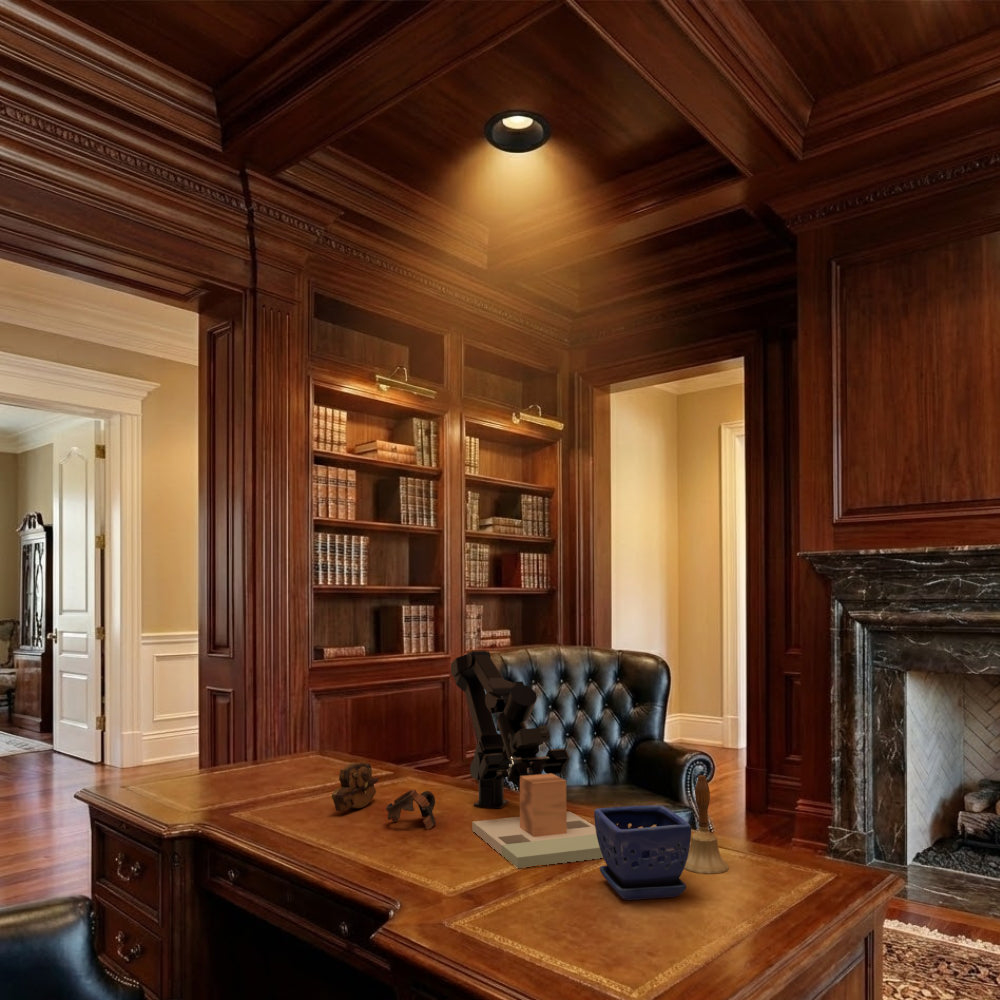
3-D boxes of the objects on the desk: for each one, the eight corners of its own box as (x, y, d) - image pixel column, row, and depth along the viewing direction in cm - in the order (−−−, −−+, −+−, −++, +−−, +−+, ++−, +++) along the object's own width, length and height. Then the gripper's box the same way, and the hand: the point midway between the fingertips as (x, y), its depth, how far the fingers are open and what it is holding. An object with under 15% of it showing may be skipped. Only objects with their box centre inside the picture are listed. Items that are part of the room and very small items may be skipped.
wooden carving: (348, 818, 186) (349, 771, 187) (329, 817, 188) (330, 770, 189) (381, 800, 202) (382, 757, 203) (364, 799, 203) (364, 755, 204)
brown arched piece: (424, 837, 175) (403, 800, 175) (392, 850, 179) (373, 815, 180) (453, 808, 185) (434, 774, 186) (423, 822, 190) (405, 788, 190)
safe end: (501, 855, 161) (501, 844, 161) (607, 843, 168) (607, 832, 168) (517, 869, 153) (517, 857, 153) (627, 855, 161) (627, 844, 161)
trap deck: (472, 831, 176) (472, 821, 177) (569, 821, 184) (569, 811, 184) (501, 855, 161) (501, 844, 161) (607, 843, 168) (607, 832, 168)
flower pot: (696, 901, 138) (694, 824, 139) (617, 907, 135) (616, 828, 136) (664, 873, 151) (663, 803, 152) (591, 879, 148) (591, 807, 149)
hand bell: (729, 875, 150) (727, 781, 151) (681, 872, 151) (679, 779, 153) (727, 860, 158) (724, 771, 159) (680, 858, 159) (679, 769, 161)
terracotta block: (519, 827, 172) (519, 776, 173) (552, 823, 175) (551, 773, 176) (533, 836, 166) (533, 783, 167) (566, 833, 168) (566, 780, 169)
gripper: (483, 714, 178) (502, 780, 166) (565, 709, 184) (589, 773, 173) (470, 747, 184) (488, 813, 173) (550, 741, 191) (572, 804, 179)
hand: (535, 800), depth 174 cm, fingers closed, pressing on terracotta block
